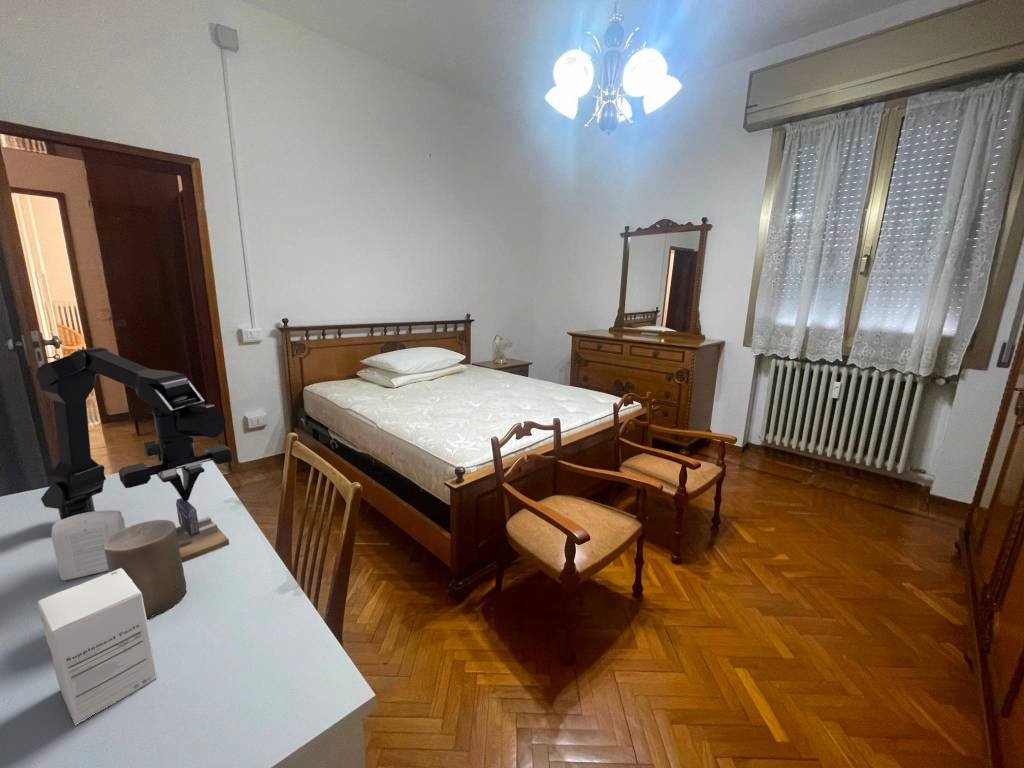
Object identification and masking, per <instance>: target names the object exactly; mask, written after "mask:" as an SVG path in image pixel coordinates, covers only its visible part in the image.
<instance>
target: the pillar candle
mask: <svg viewBox="0 0 1024 768" xmlns="http://www.w3.org/2000/svg"><path fill="white" fill-rule="evenodd" d="M176 528H177V527H176V524H175V522H173V521H172V520H170V519H155V520H148V521H143V522H139V523H136V524H132V525H129V526H128V527H125V528H124V529H122V530H120V531H119V532H117V533H115V534H113V535H112V536H110V537H109V538H107V540H106V541H105V542H104V544H103V547H104V548H103V549H104V551H105V556H106V560H107V565H108V571H107V572H108V573H110V572H112V571H115V570H117V569H120V568H122V569H123V570H124V571H125V573H126V574H127V575H128V576H129V578H131V579H132V581H133V583H134V584H135V585H136V587H137V588H138V589H139V590H140V592H141V593H142V598H143V603H144V608H145V613H146V618H151V617H153V616H157V615H160V614H162V613H164V612H166V611H168V610H170V609H171V608H173V607H175V606H176V605H178V603H180V602H181V600H183V598H184V597H185V596H186V594H187V593H188V590H187V580H186V576H185V572H184V566H183V563H182V560H181V555H180V549H179V543H178V538H177V532H176Z"/></svg>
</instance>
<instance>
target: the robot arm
mask: <svg viewBox="0 0 1024 768" xmlns="http://www.w3.org/2000/svg"><path fill="white" fill-rule="evenodd" d="M98 375H101V376H103V377H104V378H108V379H110V380H112V381H114V382H117V383H120V384H122V385H124V386H127V387H130V388H131V389H133V390H135V393H136V396H137V397H138V398H140V399H141V400H143V401H144V402H146V403H147V404H149V406H147V407H146V408H145V409H144V410H143V411H144V414H149V415H153V419H154V425H155V433H156V438H157V442H156V441H155V440H151V441H147V442H143V443H142V447H143V452H144V455H145V458H150V457H155V456H156V458H157V461H158V462H161V463H158V464H154V465H150V466H147V465H146V464H145V462H140V463H135V464H132V465H127V466H122V467H120V469H119V471H118V475H119V480H120V482H121V483H122V485H123V486H124V488H125V489H131V488H134V487H138V486H142V485H145V484H146V485H147V484H148V483H149V481H150V480H151V479H152V478H151V477H152V476H154V475H156V476H157V477H158V479H160V481H161V482H163V483H170V484H171V485H172V487H173V488H174V490H175V491H176V492H177V494H178V495H179V497H180V498H182V500H183V501H188V502H189V500H190V497H191V494H192V492H193V488H194V486H195V485H196V484H195V483H196V482H197V480H198V478H199V476H200V474H201V473H204V472H205V468H204V467H203V464H204V463H206V462H210V461H213V463H214V464H216V465H223V464H227V463H231V462H233V461H234V460H235V459H234V453H233V451H232V449H231V448H229V447H228V446H226V445H224V444H218V445H217V444H216V445H213V446H209V447H205V449H204V452H203V453H199V454H196V452H195V445H194V442H195V441H194V438H193V437H198V438H199V437H200V438H210V439H214V438H217V437H219V436H220V435H221V434H223V432H224V431H225V428H226V422H227V421H226V417H225V416H224V414H223V413H222V412H221V411H219V410H217V409H216V405H215V404H210V403H209V404H205V403H206V401H205V399H204V398H203V397H202V395H201V393H200V392H198V391H197V389H196V388H195V386H194V385H193V384H192V383H191V381H190V380H189V378H188V377H187V376H186V375H185V374H183V373H180V372H176V371H171V370H160V369H159V370H158V369H152V368H149V367H146V366H144V365H141V364H139V363H137V362H134V361H133V360H132V361H131V360H130V359H127V358H124V357H123V356H120V355H117V354H115V353H112V352H111V351H110V350H109V349H107V348H105V347H89V348H84V349H83V348H82V349H77V350H76V351H73V352H72V353H70V354H69V355H65V356H64V357H61V358H58V359H56V360H53V361H50V362H45V363H42V364H41V366H38V368H37V370H36V379H37V381H38V382H39V387H40V390H41V391H42V392H43V393H44V394H45V395H46V396H47V397H48V398H50V399H51V400H52V403H53V412H54V421H55V430H56V438H57V439H56V440H57V448H58V459H59V462H58V463H57V465H56V466H55V467H54V469H53V470H52V472H51V473H50V480H49V482H50V484H49V487H48V488H47V489H46V491H45V492H44V494H43V495H42V497H41V498H40V500H41V502H42V504H43V506H44V507H45V508H49V509H56V510H58V514H59V518H60V519H59V520H63V519H65V518H68V517H71V516H74V515H78V514H82V513H87V512H93V511H96V510H95V504H94V499H93V496H95V495H97V494H100V493H103V490H104V484H105V481H106V480H107V478H106V475H105V466H104V465H103V464H99V463H98V462H96V460H94V459H93V458H92V453H91V442H90V429H89V428H90V427H89V420H88V419H89V416H88V408H87V407H88V406H87V399H88V397H90V395H91V393H92V391H93V390H94V389H95V387H96V377H97V376H98ZM180 469H181V472H182V477H181V475H180V474H179V473H178V472H177V471H178V470H180Z"/></svg>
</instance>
